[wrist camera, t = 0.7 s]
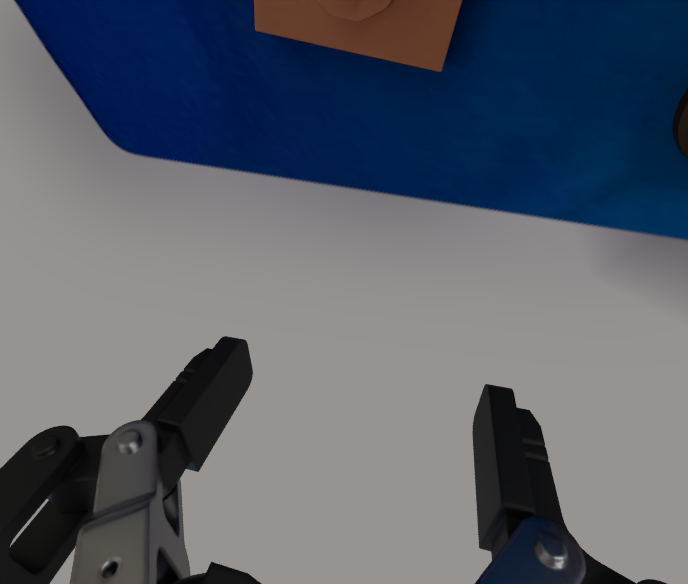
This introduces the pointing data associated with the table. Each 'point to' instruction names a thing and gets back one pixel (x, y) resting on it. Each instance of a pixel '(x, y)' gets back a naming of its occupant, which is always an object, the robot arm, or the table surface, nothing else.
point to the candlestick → (681, 125)
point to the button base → (367, 26)
